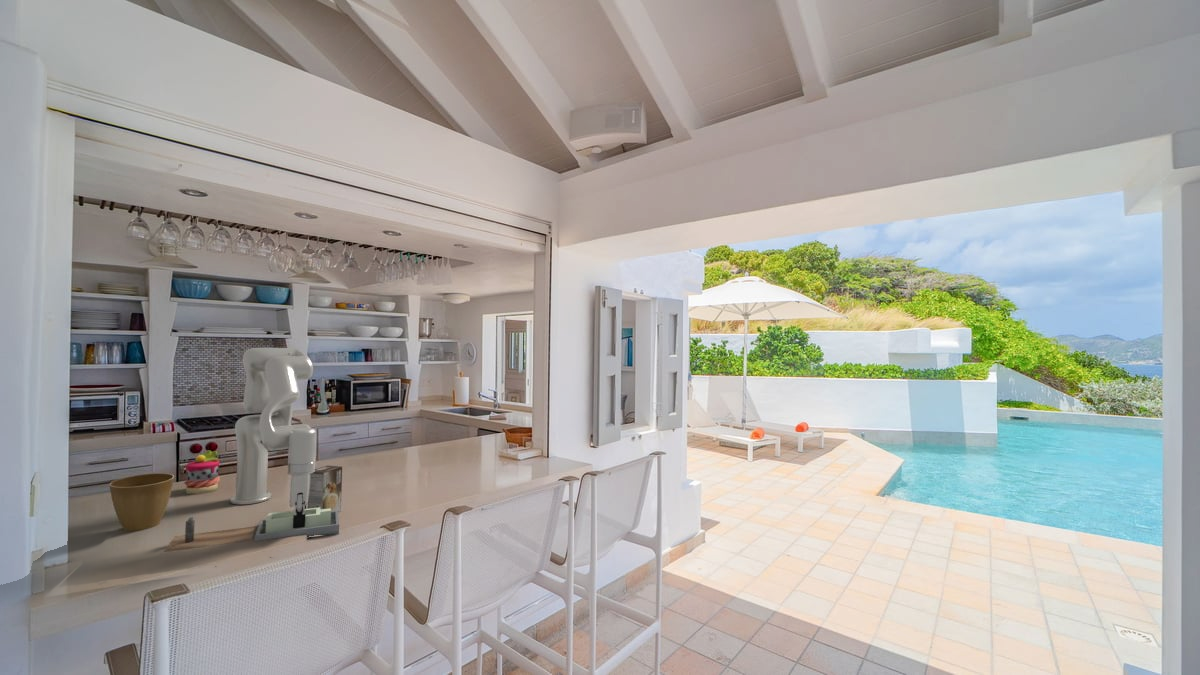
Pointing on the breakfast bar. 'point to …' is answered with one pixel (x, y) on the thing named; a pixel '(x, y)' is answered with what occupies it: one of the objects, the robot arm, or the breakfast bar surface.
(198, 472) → the cake
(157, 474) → the plant pot
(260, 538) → the tray
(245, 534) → the board
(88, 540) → the breakfast bar surface
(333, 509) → the coffee box
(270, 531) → the collar
